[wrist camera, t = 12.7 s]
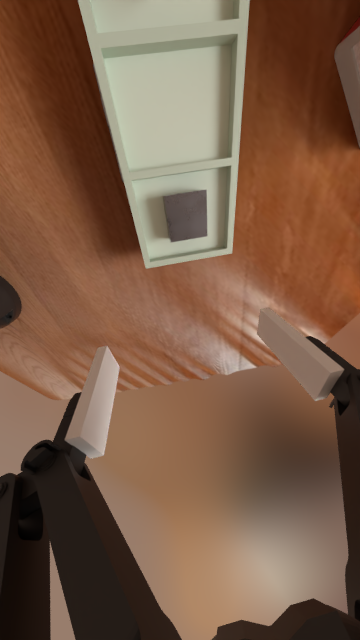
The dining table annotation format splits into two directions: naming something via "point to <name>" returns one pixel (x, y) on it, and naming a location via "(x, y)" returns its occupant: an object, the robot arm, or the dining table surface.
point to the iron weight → (186, 215)
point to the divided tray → (173, 110)
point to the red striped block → (351, 72)
